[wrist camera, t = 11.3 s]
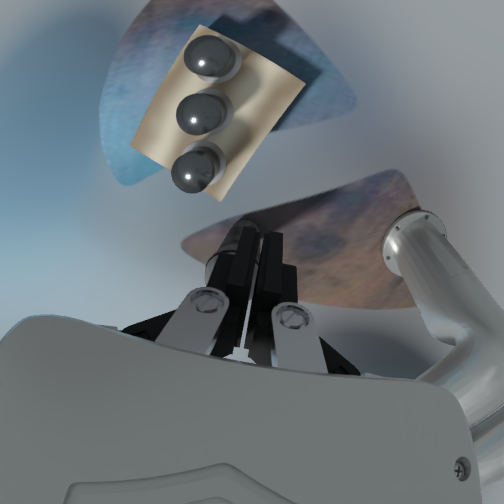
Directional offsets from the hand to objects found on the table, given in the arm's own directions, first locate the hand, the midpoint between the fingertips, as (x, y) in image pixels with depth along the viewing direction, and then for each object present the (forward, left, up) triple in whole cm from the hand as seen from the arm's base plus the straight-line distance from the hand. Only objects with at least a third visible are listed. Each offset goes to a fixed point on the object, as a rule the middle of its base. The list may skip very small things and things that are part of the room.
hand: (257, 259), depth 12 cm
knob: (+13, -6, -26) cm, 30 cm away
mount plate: (+10, +1, -29) cm, 31 cm away
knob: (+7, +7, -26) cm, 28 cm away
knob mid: (+10, +1, -26) cm, 28 cm away
